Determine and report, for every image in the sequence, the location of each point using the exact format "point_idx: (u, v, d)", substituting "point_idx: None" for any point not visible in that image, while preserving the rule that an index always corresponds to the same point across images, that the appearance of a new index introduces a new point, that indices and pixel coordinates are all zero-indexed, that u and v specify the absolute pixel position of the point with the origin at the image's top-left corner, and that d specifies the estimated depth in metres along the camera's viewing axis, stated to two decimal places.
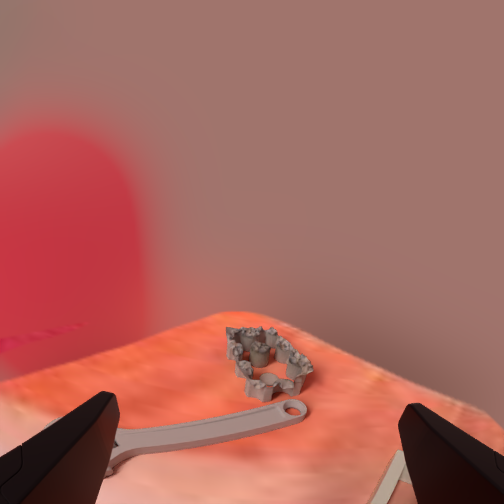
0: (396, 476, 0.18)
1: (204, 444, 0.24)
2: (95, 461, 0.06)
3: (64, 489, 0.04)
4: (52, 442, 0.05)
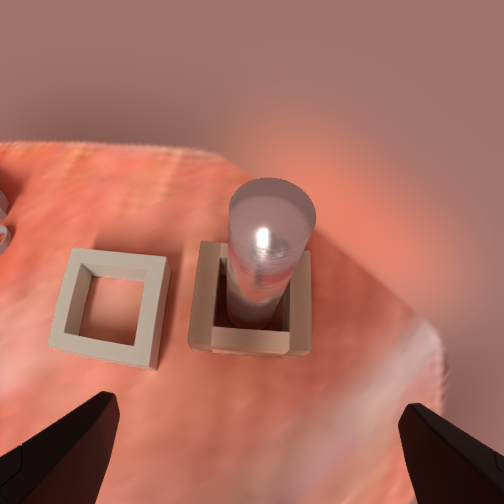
0: (72, 284, 0.21)
1: None
2: (95, 461, 0.06)
3: (64, 489, 0.04)
4: (52, 442, 0.05)
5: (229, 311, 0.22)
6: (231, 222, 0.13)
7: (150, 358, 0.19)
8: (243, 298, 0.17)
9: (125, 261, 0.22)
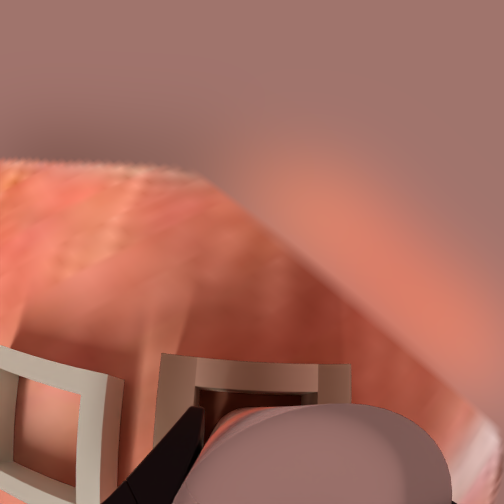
0: None
1: None
2: None
3: None
4: (162, 471, 0.05)
5: None
6: None
7: None
8: None
9: (49, 375, 0.11)
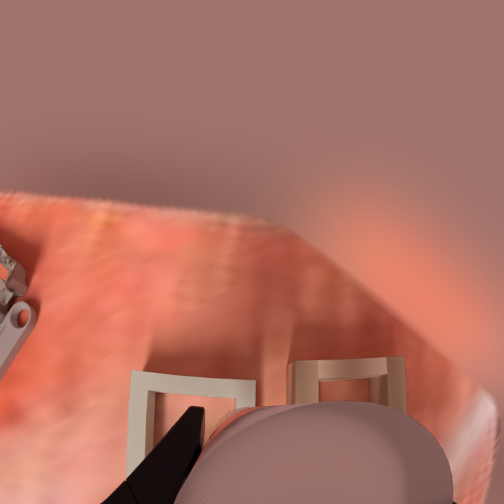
0: (142, 416, 0.17)
1: None
2: None
3: None
4: (162, 471, 0.05)
5: None
6: None
7: None
8: None
9: (206, 388, 0.18)
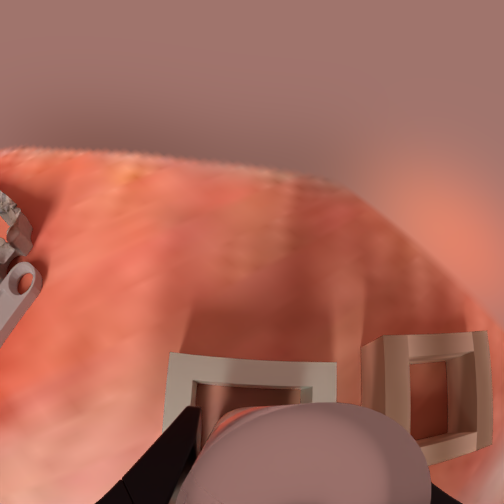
0: None
1: None
2: None
3: None
4: (158, 470, 0.05)
5: None
6: None
7: None
8: None
9: (274, 375, 0.14)
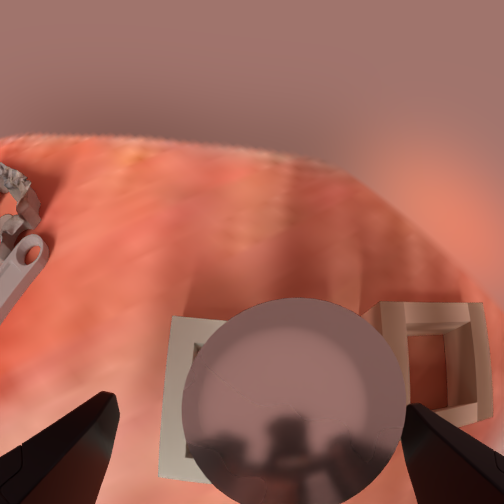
0: (184, 379, 0.13)
1: None
2: (95, 461, 0.06)
3: (64, 489, 0.04)
4: (52, 442, 0.05)
5: None
6: (189, 447, 0.04)
7: None
8: None
9: None
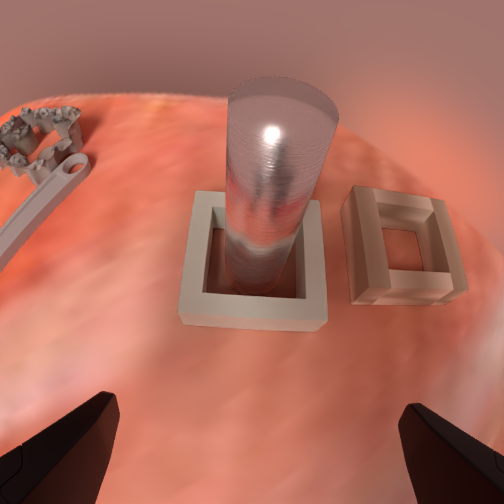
0: (204, 231, 0.18)
1: (7, 260, 0.19)
2: (95, 461, 0.06)
3: (64, 489, 0.04)
4: (52, 442, 0.05)
5: (228, 270, 0.18)
6: (231, 114, 0.09)
7: None
8: (246, 240, 0.14)
9: None
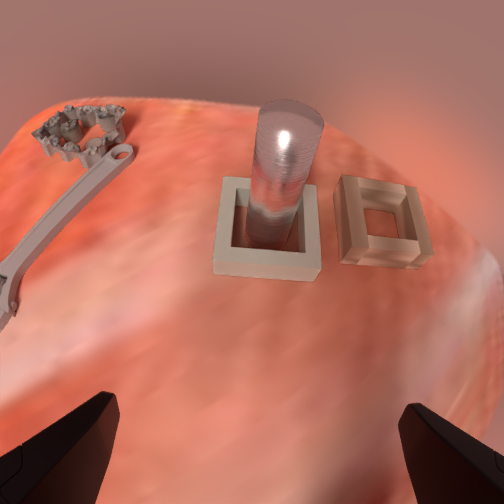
0: (231, 205, 0.25)
1: (63, 226, 0.26)
2: (95, 461, 0.06)
3: (64, 489, 0.04)
4: (52, 442, 0.05)
5: (248, 233, 0.25)
6: (260, 123, 0.16)
7: (320, 263, 0.24)
8: (264, 205, 0.20)
9: None
